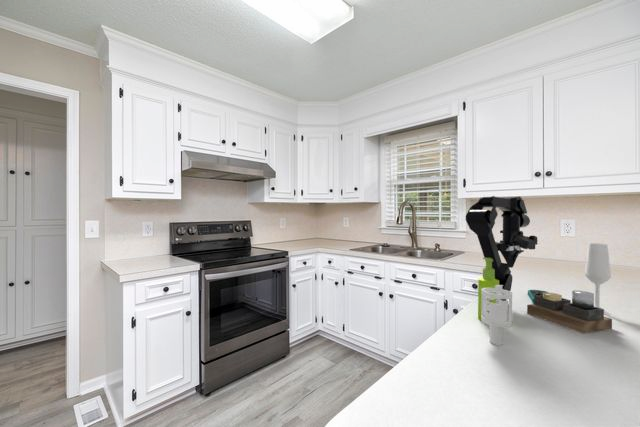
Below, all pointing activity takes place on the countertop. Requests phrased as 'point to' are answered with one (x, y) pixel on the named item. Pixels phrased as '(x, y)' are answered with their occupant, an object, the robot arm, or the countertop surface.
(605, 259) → the champagne flute
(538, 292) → the digital multimeter
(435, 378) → the countertop surface
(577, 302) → the steel knob
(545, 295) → the brass knob
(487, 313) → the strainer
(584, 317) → the knob console
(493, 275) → the soap dispenser
